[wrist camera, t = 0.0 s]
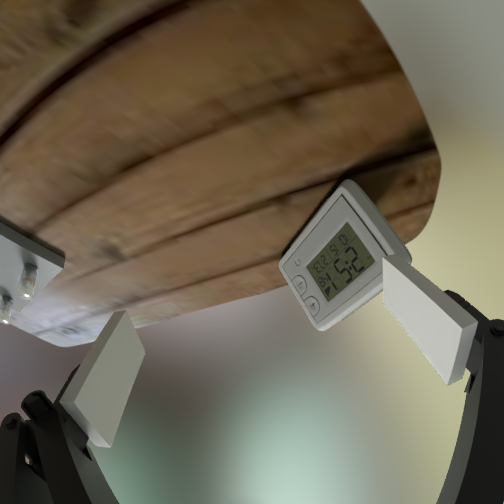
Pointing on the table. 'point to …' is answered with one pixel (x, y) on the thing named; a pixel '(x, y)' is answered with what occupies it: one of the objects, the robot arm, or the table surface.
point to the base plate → (15, 264)
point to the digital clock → (340, 256)
